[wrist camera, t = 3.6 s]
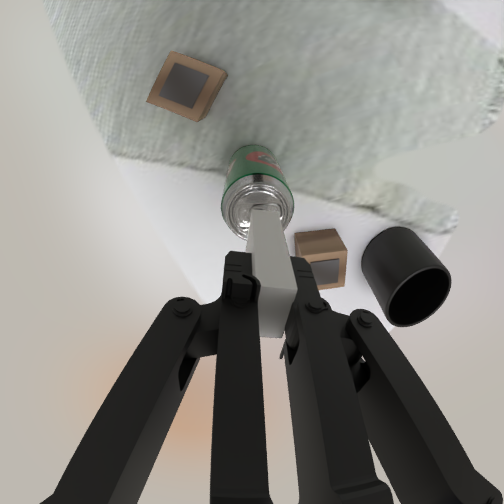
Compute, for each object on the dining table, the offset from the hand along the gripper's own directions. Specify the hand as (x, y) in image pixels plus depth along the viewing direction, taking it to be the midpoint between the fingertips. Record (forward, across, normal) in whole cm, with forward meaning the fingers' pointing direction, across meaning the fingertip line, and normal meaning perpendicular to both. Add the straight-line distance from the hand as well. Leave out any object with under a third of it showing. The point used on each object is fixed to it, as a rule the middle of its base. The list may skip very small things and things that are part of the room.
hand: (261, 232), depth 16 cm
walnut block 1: (+15, -7, +8) cm, 18 cm away
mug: (+15, +21, -10) cm, 28 cm away
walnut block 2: (+15, +9, -9) cm, 19 cm away
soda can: (+15, 0, 0) cm, 15 cm away
